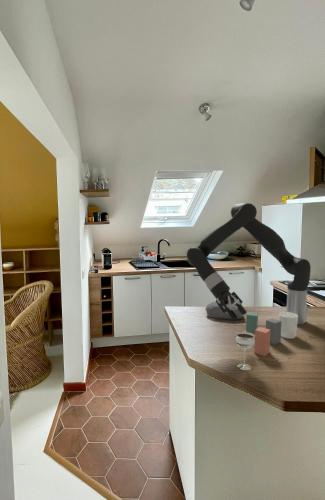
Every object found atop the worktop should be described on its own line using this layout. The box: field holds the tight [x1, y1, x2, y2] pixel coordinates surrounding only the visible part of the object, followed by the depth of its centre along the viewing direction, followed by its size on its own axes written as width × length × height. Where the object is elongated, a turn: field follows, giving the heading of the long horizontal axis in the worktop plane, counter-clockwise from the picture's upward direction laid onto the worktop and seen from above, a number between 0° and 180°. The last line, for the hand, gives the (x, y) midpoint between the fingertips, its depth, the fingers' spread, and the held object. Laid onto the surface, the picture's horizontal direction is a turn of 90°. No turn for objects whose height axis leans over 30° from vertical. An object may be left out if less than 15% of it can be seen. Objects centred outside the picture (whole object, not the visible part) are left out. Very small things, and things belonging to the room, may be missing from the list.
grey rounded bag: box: [205, 301, 243, 320], centre depth 165 cm, size 15×8×20 cm
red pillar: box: [253, 326, 271, 357], centre depth 120 cm, size 4×4×10 cm
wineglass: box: [235, 330, 255, 371], centre depth 108 cm, size 7×7×12 cm
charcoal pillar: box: [265, 318, 282, 346], centre depth 130 cm, size 4×4×10 cm
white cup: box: [278, 311, 298, 340], centre depth 137 cm, size 8×8×10 cm
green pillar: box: [245, 311, 259, 335], centre depth 139 cm, size 4×4×10 cm
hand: (240, 316), depth 125 cm, fingers open, 8 cm apart
